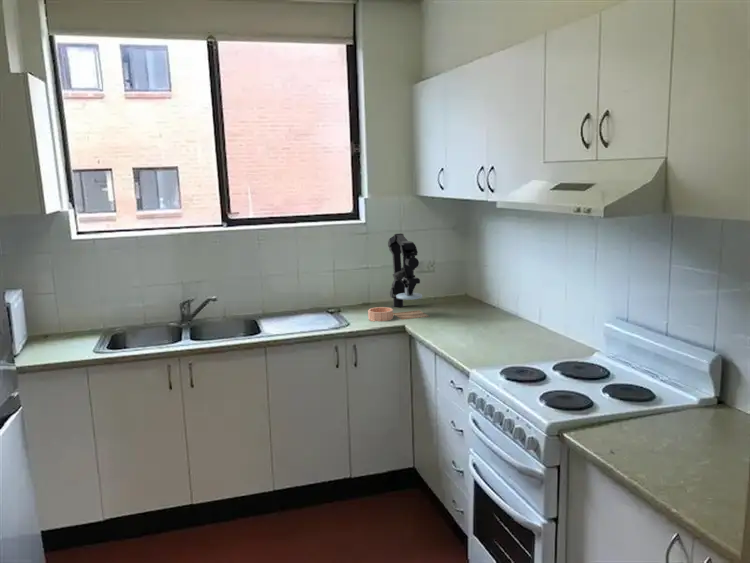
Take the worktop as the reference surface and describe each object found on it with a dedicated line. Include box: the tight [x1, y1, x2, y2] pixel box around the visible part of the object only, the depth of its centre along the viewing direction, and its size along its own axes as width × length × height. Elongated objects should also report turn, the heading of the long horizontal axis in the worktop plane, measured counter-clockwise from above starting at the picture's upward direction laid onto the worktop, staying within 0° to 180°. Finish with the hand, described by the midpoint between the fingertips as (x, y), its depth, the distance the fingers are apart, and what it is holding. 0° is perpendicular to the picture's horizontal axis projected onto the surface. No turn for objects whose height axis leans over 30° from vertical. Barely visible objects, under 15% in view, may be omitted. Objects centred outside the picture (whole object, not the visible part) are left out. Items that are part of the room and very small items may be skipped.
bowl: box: [367, 306, 394, 322], centre depth 336 cm, size 13×13×5 cm
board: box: [393, 309, 430, 321], centre depth 341 cm, size 16×16×1 cm
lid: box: [396, 287, 423, 301], centre depth 338 cm, size 14×14×5 cm
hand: (409, 294), depth 338 cm, fingers closed on lid, 3 cm apart
